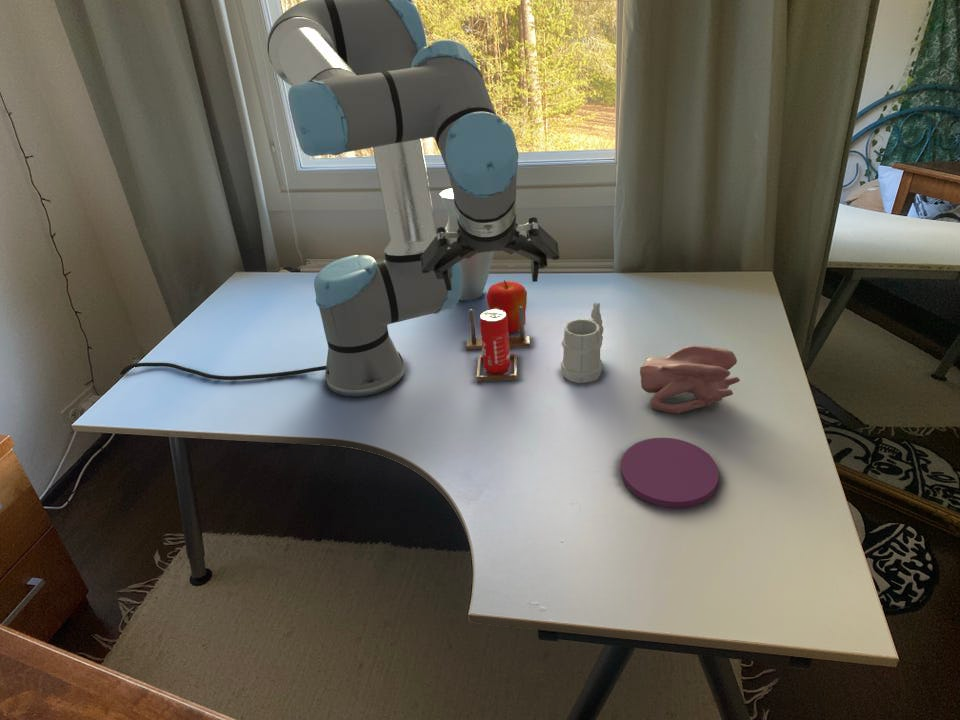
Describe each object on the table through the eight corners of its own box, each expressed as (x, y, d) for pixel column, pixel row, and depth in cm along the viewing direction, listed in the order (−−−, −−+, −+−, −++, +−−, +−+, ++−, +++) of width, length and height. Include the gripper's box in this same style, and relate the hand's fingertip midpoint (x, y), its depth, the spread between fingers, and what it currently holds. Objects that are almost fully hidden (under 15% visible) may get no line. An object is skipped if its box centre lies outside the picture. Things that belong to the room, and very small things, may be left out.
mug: (553, 377, 117) (552, 321, 111) (582, 348, 125) (582, 294, 119) (591, 388, 113) (592, 331, 107) (618, 357, 121) (620, 302, 115)
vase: (426, 300, 149) (412, 198, 136) (462, 277, 159) (452, 179, 146) (475, 313, 142) (465, 206, 128) (510, 288, 151) (504, 186, 138)
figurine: (652, 429, 108) (737, 418, 98) (628, 380, 106) (712, 363, 96) (676, 393, 117) (756, 379, 106) (654, 346, 114) (734, 328, 104)
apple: (507, 344, 129) (504, 292, 123) (480, 331, 135) (476, 281, 128) (536, 328, 134) (534, 278, 127) (509, 316, 139) (506, 267, 133)
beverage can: (502, 379, 118) (498, 324, 112) (479, 373, 121) (473, 318, 114) (515, 365, 122) (512, 311, 116) (492, 360, 124) (488, 306, 118)
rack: (531, 379, 118) (529, 340, 113) (462, 382, 119) (458, 343, 114) (529, 339, 130) (528, 302, 126) (467, 342, 131) (463, 306, 127)
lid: (609, 493, 91) (609, 487, 90) (632, 435, 101) (633, 429, 101) (710, 519, 85) (711, 512, 85) (724, 455, 96) (725, 449, 95)
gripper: (389, 250, 78) (414, 308, 98) (589, 229, 77) (572, 292, 98) (386, 196, 80) (411, 264, 100) (581, 176, 79) (566, 248, 100)
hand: (491, 278), depth 99 cm, fingers open, 13 cm apart
